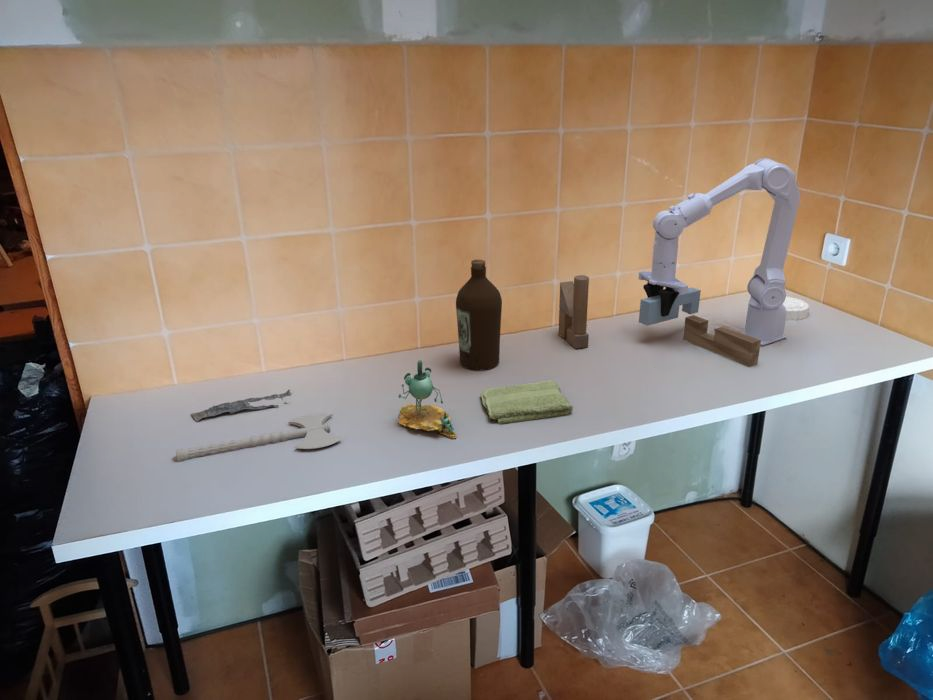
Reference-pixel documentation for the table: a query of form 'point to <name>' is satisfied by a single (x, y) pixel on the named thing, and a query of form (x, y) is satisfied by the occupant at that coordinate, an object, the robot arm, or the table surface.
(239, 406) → the driftwood
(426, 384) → the frog figurine
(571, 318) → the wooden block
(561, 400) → the washcloth
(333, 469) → the table surface
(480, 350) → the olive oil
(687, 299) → the slate crossbar
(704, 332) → the walnut beam
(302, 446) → the axe
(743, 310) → the table surface
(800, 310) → the mooncake
